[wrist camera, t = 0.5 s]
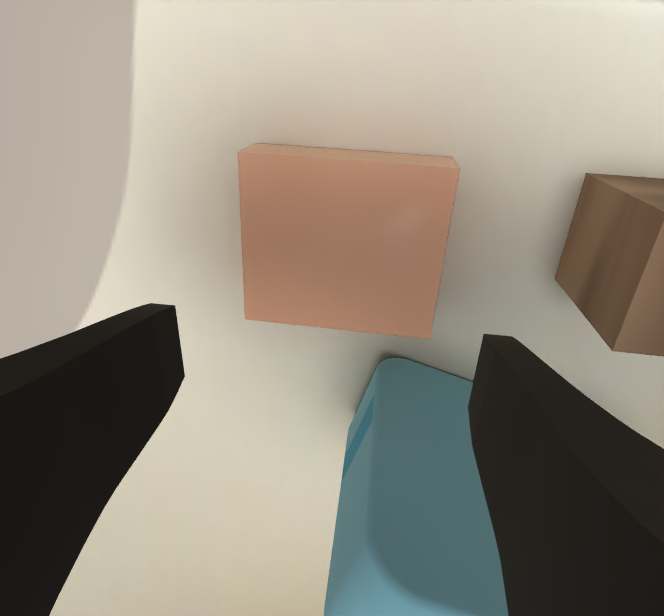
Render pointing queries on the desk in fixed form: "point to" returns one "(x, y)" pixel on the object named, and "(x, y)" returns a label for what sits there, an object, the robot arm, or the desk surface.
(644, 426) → the desk surface
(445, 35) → the desk surface
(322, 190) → the terracotta plinth
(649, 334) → the walnut block
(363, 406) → the teal rounded block
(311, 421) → the desk surface
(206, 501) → the desk surface
